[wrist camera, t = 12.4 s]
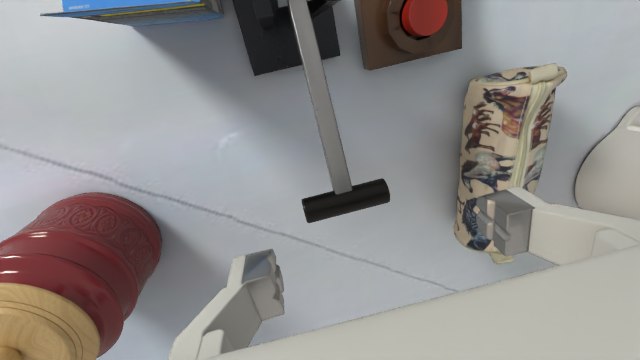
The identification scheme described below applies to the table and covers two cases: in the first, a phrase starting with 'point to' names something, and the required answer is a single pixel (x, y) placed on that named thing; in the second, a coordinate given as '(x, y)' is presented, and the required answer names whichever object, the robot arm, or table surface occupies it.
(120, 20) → the tape cartridge
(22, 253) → the kitchen canister
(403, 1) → the control block
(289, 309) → the table surface
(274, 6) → the bracket
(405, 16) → the button
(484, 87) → the pencil case
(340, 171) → the lever
